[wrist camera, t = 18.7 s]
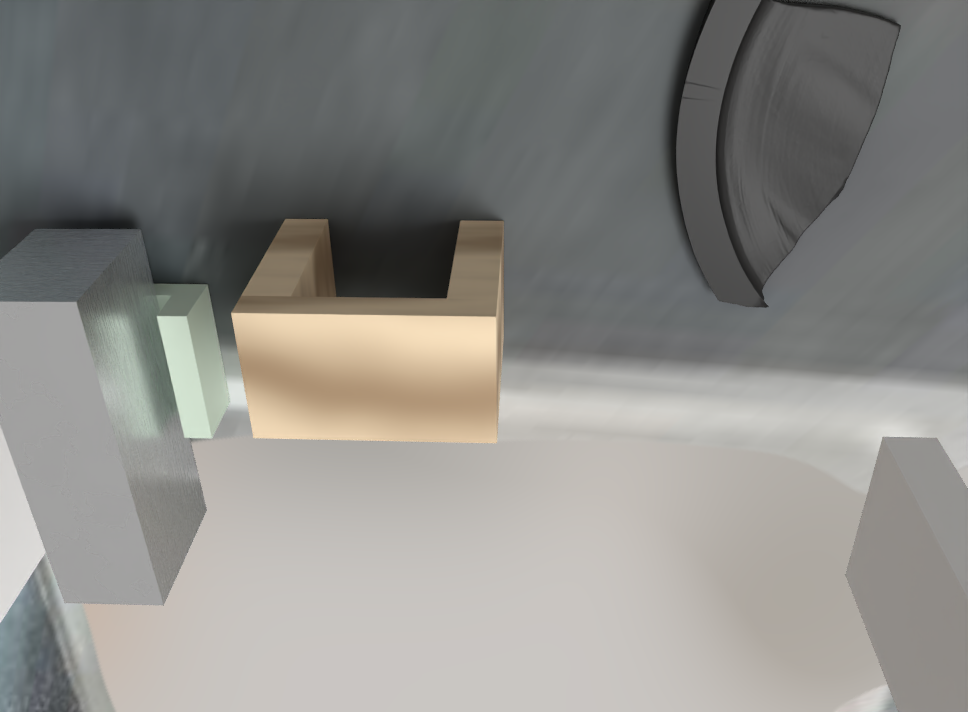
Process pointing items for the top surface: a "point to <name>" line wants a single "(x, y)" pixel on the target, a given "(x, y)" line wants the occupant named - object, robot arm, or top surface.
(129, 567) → the steel bar
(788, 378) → the top surface
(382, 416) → the block
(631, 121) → the top surface
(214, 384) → the cradle
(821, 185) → the fan shaped piece
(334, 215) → the top surface
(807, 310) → the top surface
